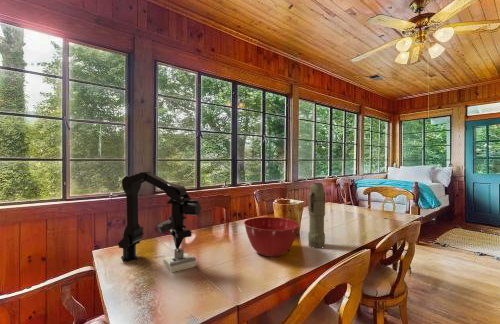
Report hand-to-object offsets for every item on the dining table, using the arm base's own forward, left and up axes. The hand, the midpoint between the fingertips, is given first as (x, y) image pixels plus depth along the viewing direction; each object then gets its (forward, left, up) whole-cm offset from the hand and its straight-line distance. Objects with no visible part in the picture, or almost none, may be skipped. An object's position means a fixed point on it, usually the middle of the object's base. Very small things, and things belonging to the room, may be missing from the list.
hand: (177, 248), depth 116 cm
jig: (+1, +1, -7) cm, 7 cm away
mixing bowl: (+12, +46, -8) cm, 48 cm away
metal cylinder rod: (+1, +1, -8) cm, 8 cm away
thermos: (+19, +73, -8) cm, 75 cm away
